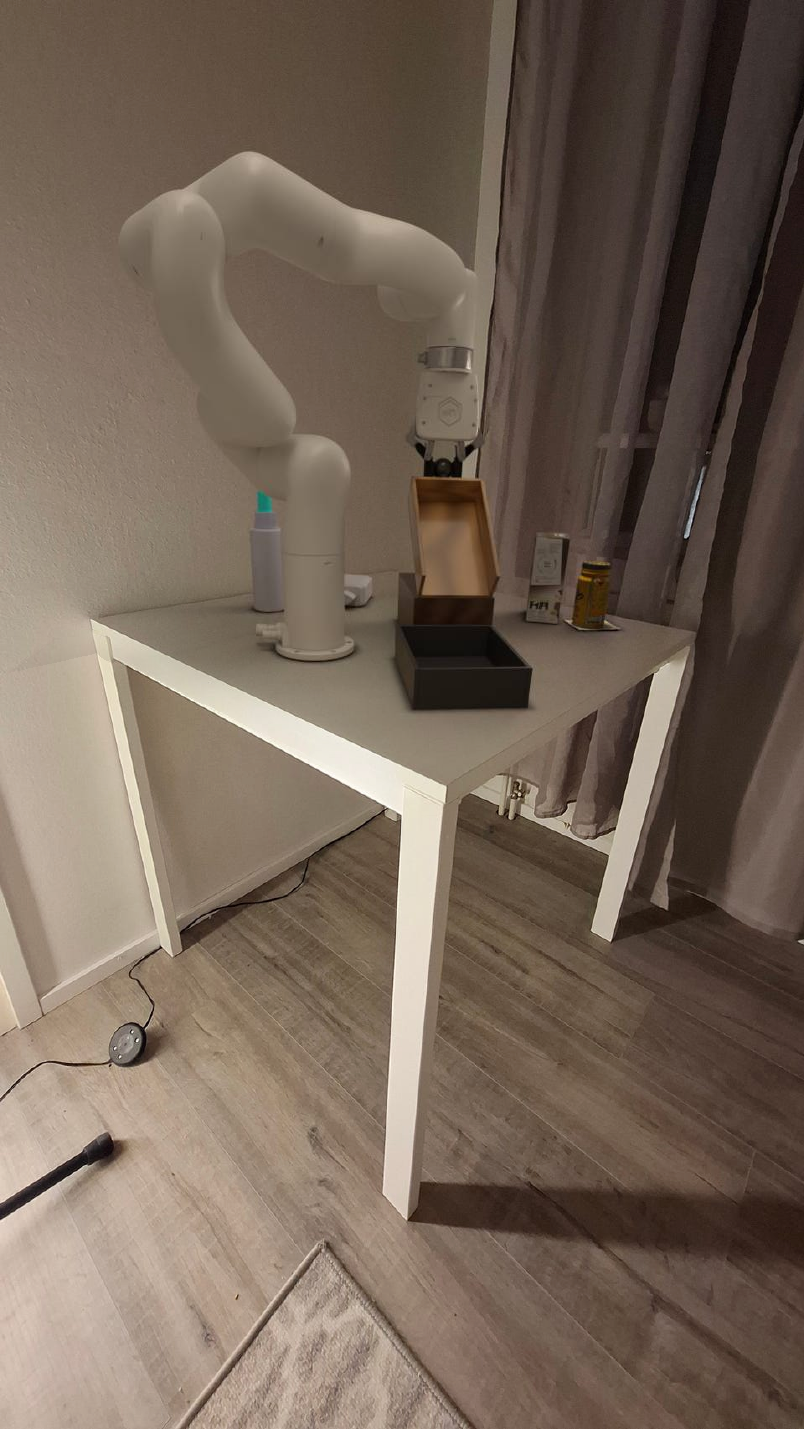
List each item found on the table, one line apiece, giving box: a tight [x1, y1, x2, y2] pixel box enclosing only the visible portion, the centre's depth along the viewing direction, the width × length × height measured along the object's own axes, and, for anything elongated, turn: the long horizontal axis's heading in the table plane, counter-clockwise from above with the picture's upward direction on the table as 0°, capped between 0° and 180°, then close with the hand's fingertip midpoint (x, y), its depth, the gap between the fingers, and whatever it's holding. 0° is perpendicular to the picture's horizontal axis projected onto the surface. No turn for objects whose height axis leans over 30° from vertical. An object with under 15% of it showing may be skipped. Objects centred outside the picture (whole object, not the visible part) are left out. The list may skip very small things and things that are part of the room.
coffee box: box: [525, 531, 571, 625], centre depth 120 cm, size 9×6×16 cm
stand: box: [396, 572, 496, 625], centre depth 108 cm, size 13×20×9 cm, turn 7°
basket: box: [394, 624, 534, 711], centre depth 87 cm, size 15×20×6 cm
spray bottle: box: [248, 490, 284, 613], centre depth 117 cm, size 6×6×22 cm
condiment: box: [564, 560, 621, 631], centre depth 117 cm, size 7×8×12 cm
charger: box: [345, 573, 373, 608], centre depth 127 cm, size 5×9×15 cm
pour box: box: [407, 457, 501, 598], centre depth 100 cm, size 12×26×5 cm
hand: (442, 484), depth 105 cm, fingers closed on pour box, 3 cm apart
